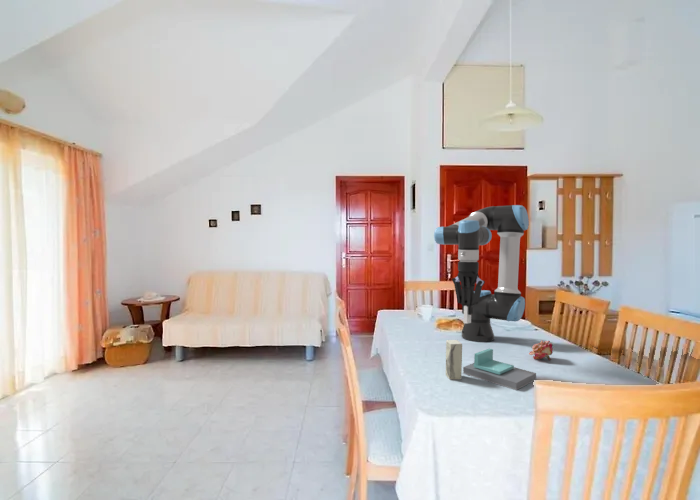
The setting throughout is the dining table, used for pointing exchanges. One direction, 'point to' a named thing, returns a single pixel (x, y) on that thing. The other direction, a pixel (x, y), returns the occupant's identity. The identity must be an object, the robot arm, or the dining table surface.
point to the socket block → (502, 376)
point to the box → (453, 359)
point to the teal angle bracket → (490, 362)
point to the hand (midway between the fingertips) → (467, 322)
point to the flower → (542, 350)
